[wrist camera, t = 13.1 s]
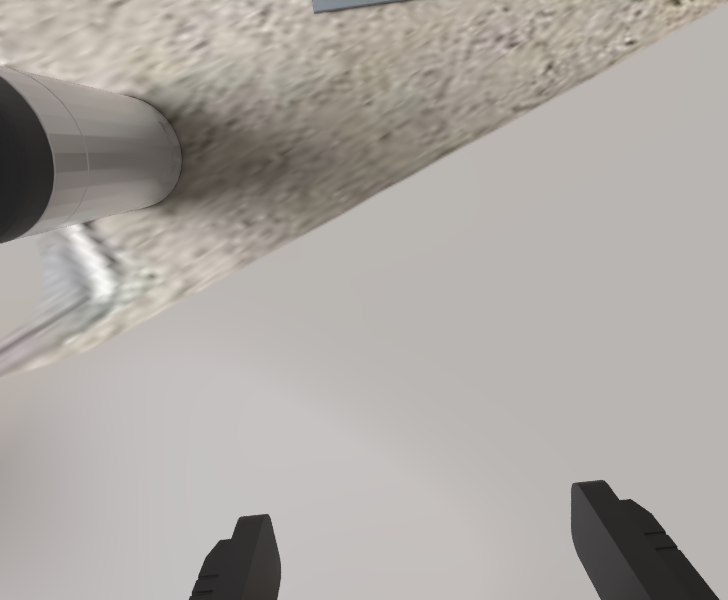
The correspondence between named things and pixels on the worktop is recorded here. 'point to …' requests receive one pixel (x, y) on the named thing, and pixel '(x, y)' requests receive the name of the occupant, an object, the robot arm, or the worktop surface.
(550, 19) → the worktop surface
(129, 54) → the worktop surface
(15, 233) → the robot arm
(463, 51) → the worktop surface
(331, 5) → the mat
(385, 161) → the worktop surface
